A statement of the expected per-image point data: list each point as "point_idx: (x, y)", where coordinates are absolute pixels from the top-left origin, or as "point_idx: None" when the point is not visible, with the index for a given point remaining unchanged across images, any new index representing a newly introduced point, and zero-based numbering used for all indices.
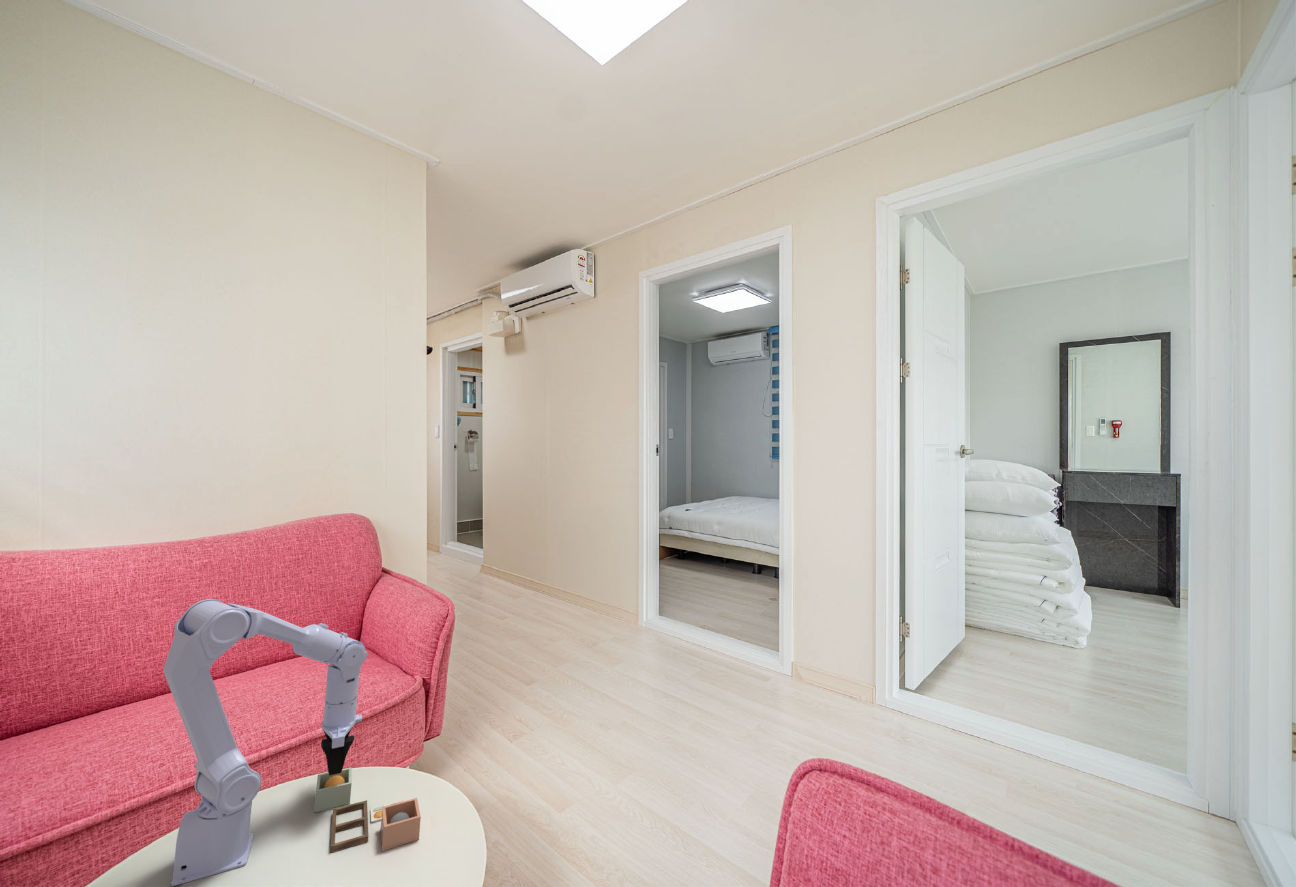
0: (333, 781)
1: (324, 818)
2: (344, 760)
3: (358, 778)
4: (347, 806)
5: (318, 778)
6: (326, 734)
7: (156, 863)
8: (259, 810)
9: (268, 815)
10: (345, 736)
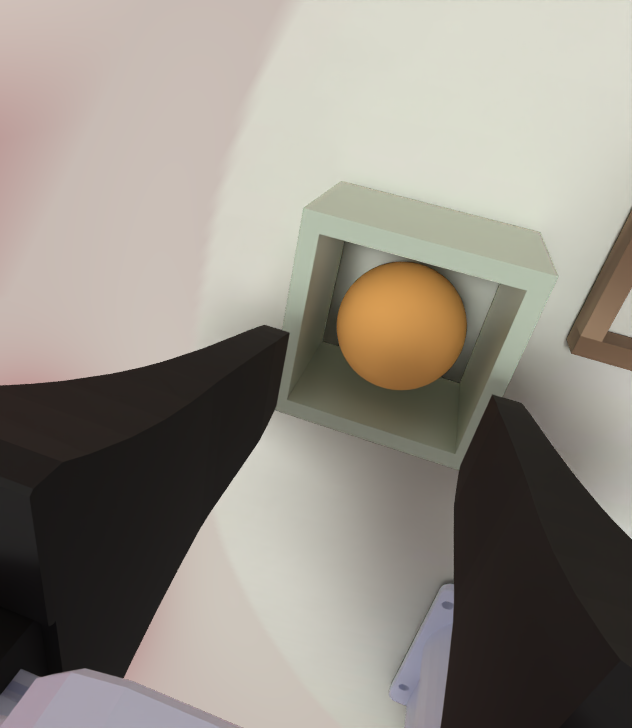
0: (427, 369)
1: (555, 371)
2: (569, 474)
3: (262, 101)
4: (626, 281)
5: (316, 418)
6: (130, 658)
7: (380, 720)
8: (276, 518)
9: (334, 510)
10: (178, 441)
